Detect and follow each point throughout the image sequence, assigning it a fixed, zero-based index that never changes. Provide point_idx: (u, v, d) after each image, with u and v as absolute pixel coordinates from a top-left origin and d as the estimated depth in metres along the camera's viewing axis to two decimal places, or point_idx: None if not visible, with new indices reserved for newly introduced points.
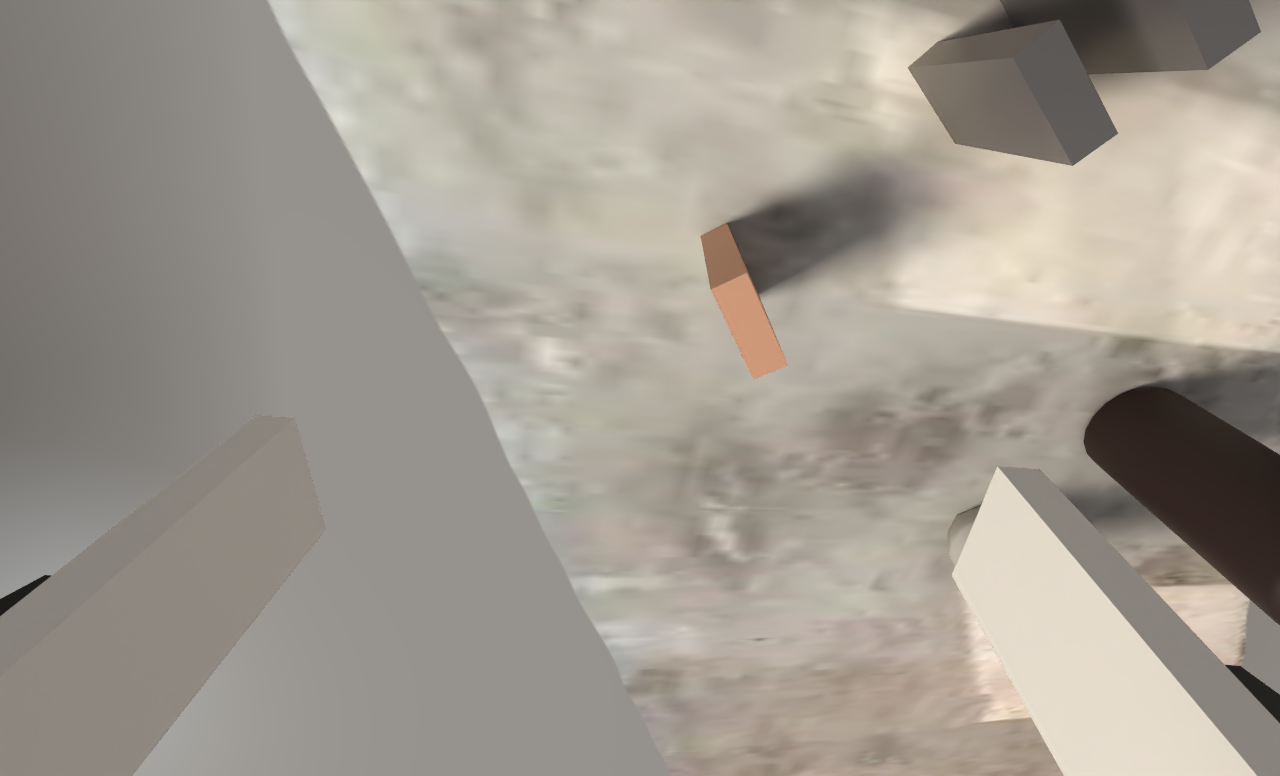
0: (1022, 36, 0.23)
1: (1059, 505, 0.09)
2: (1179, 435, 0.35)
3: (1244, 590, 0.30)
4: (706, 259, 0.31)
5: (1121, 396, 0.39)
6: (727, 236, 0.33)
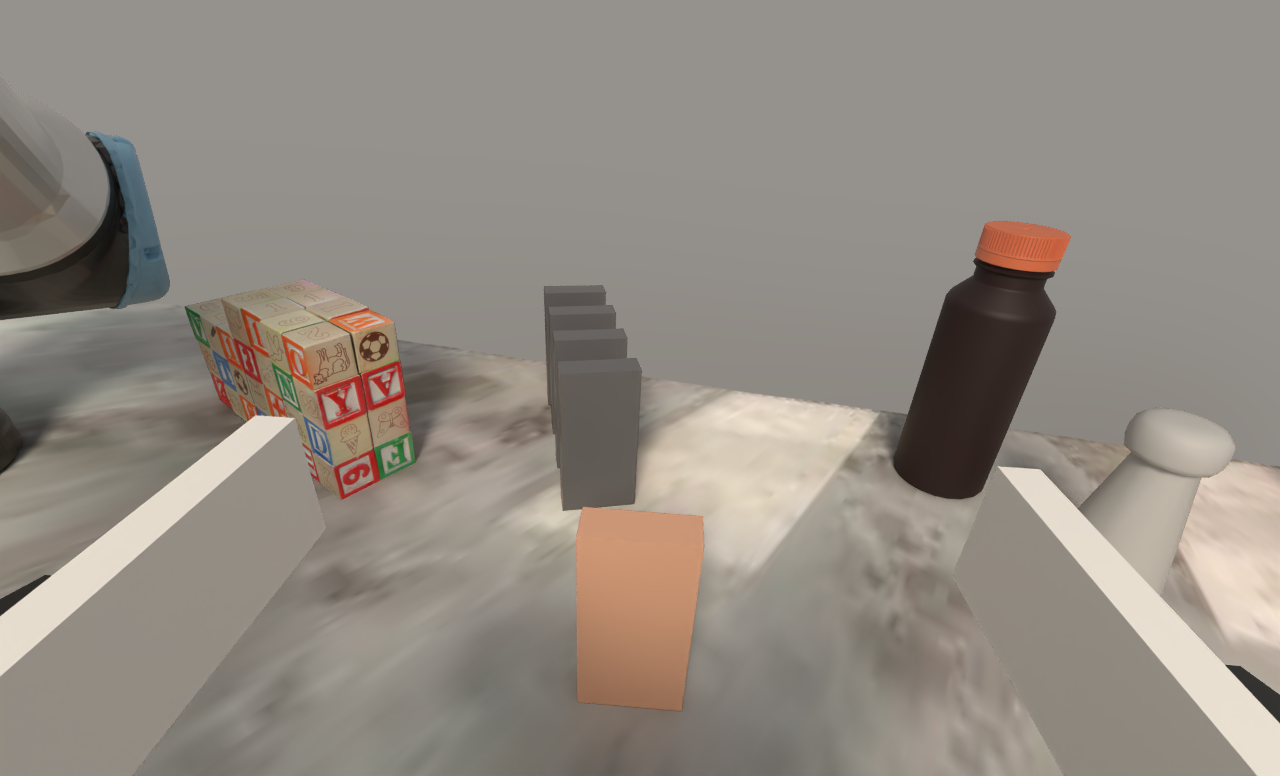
0: (559, 385, 0.37)
1: (1059, 505, 0.09)
2: (916, 418, 0.44)
3: (1023, 341, 0.38)
4: (577, 621, 0.26)
5: (899, 471, 0.46)
6: None
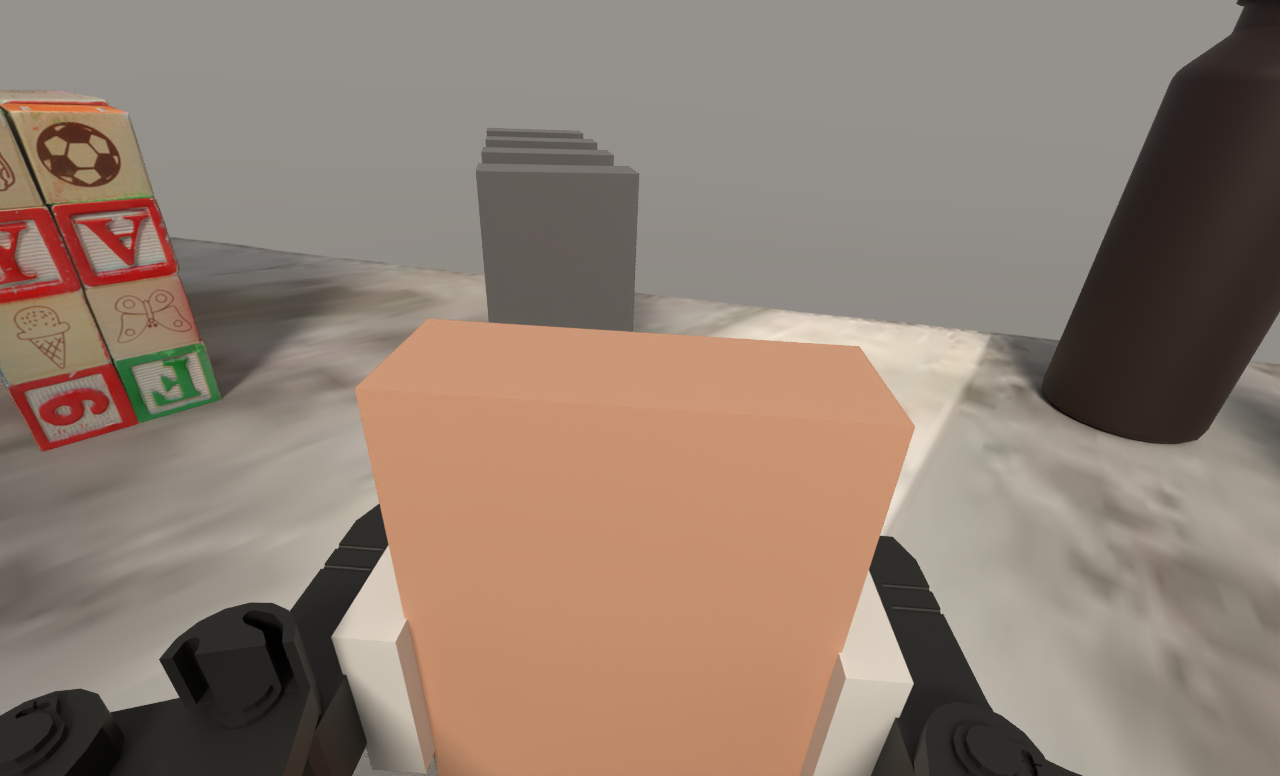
0: None
1: None
2: (1102, 307, 0.26)
3: None
4: (429, 718, 0.08)
5: (1059, 404, 0.28)
6: None
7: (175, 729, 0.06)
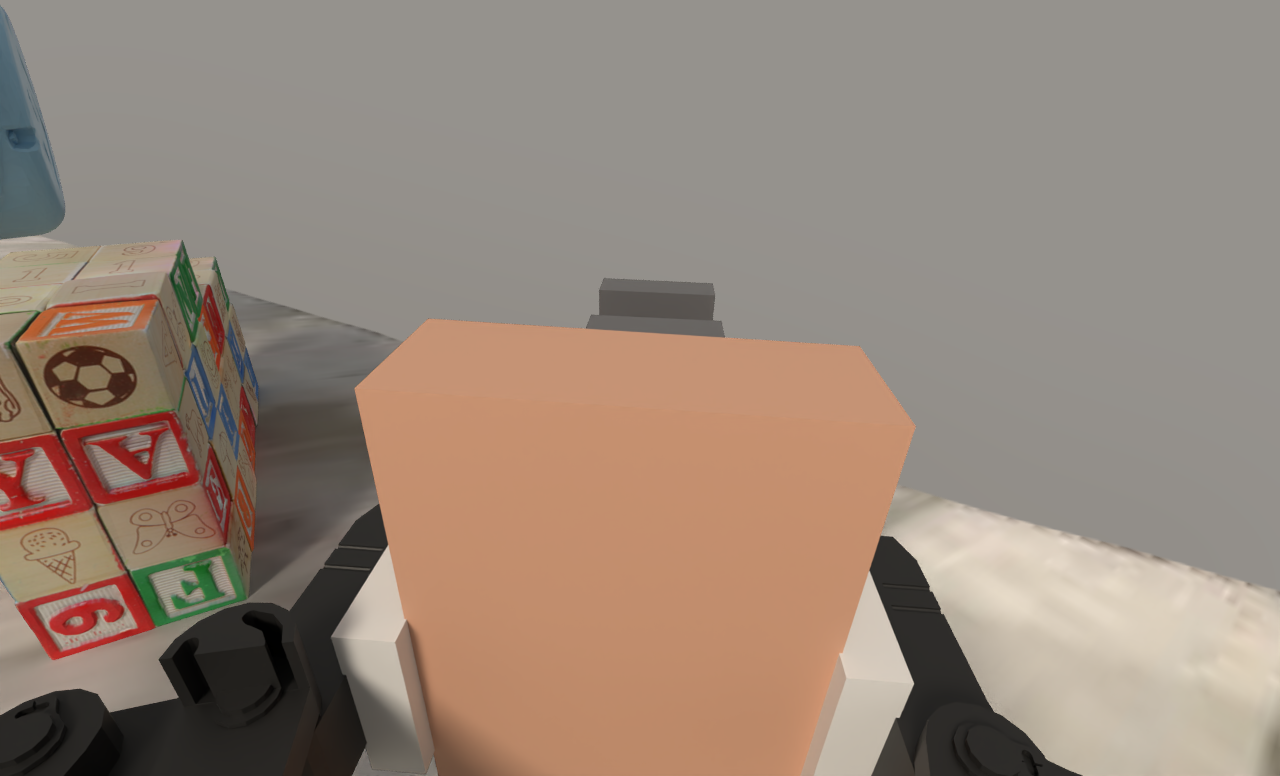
0: None
1: None
2: None
3: None
4: (429, 718, 0.08)
5: None
6: None
7: (174, 729, 0.06)
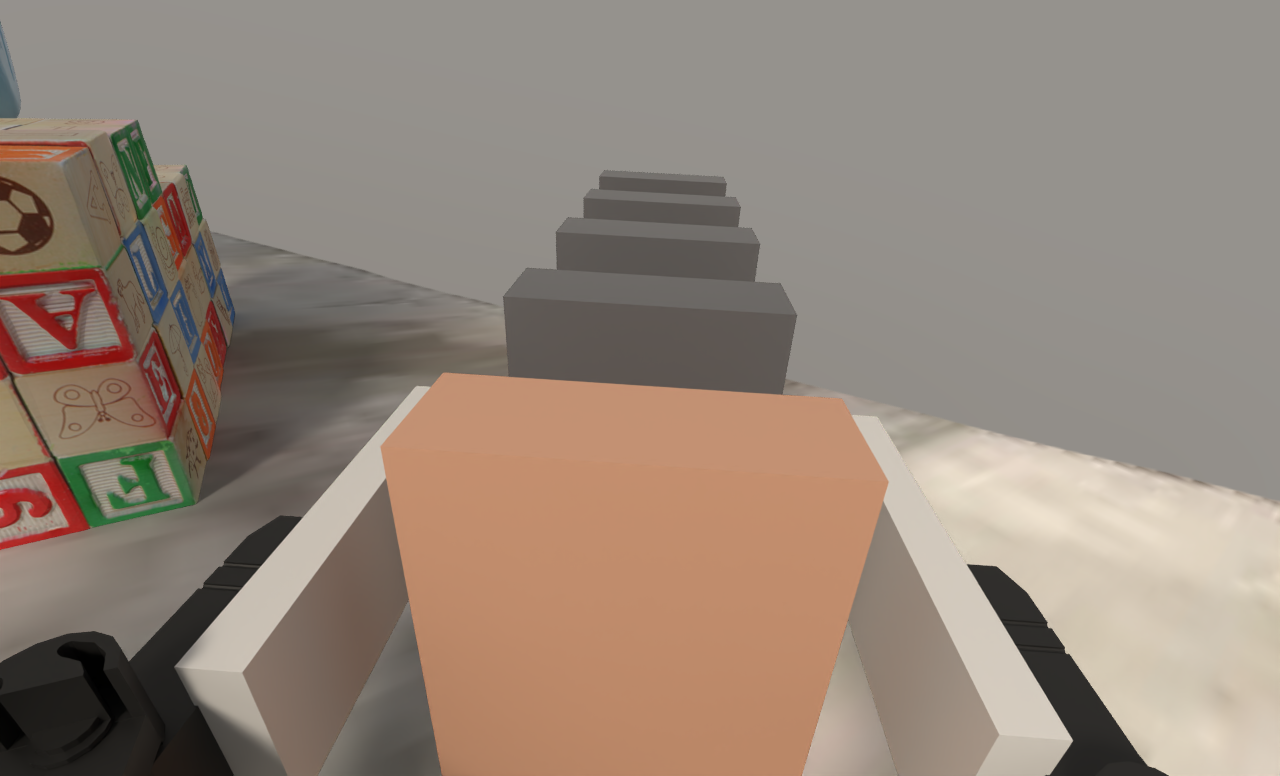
0: None
1: (880, 443, 0.11)
2: None
3: None
4: (439, 746, 0.08)
5: None
6: None
7: None
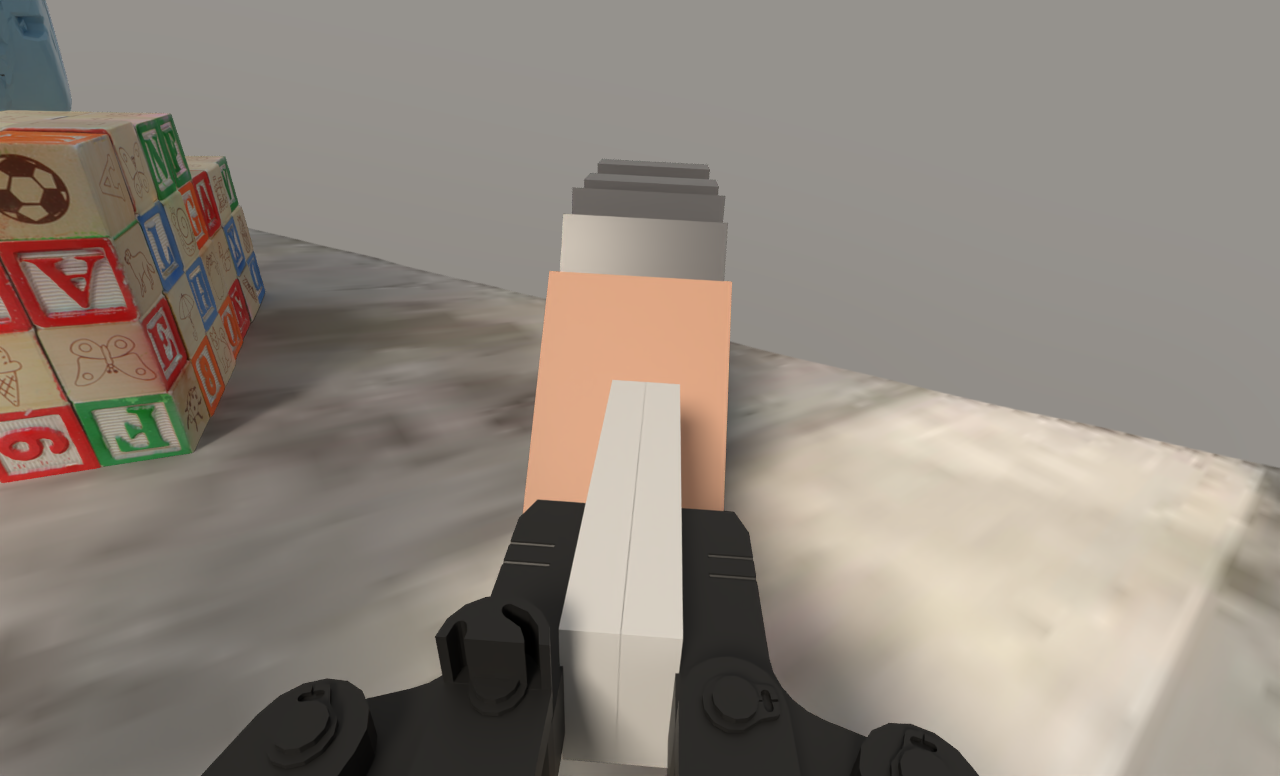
0: None
1: (667, 406, 0.12)
2: None
3: None
4: (529, 453, 0.15)
5: None
6: None
7: (438, 703, 0.06)
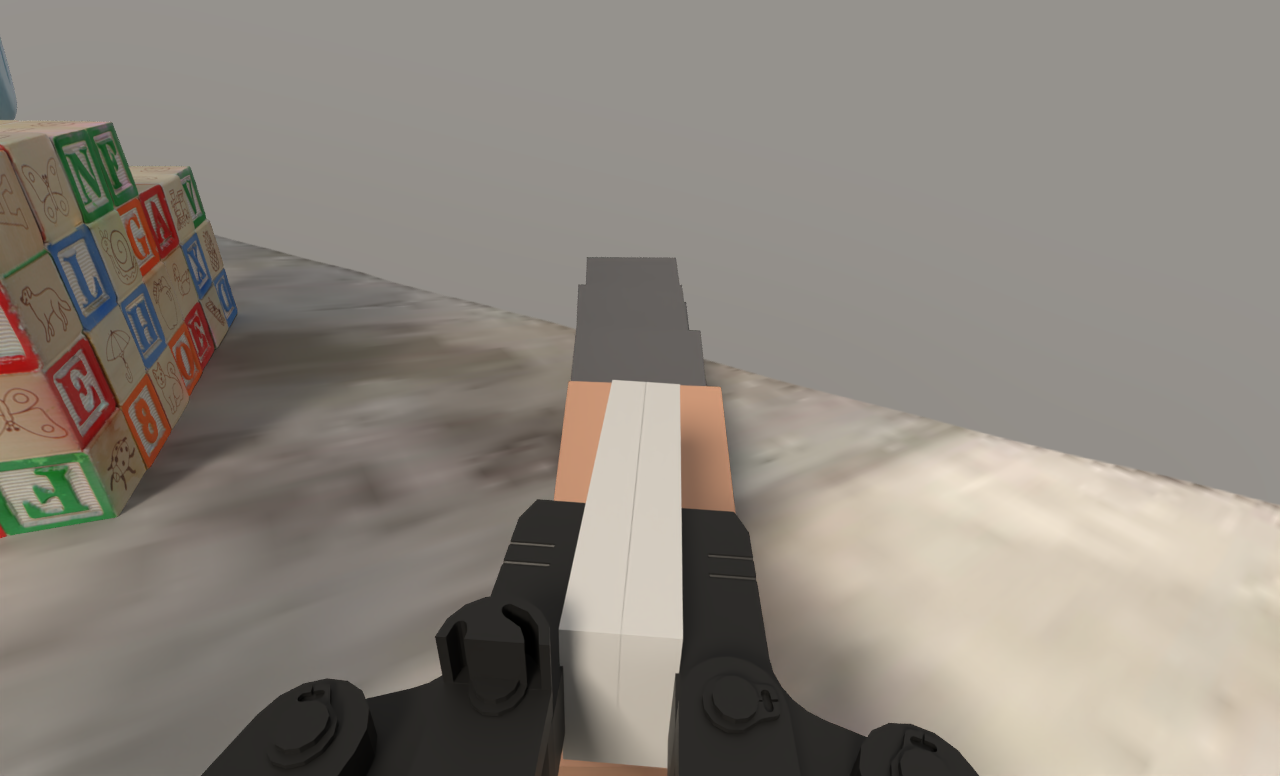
0: None
1: (667, 406, 0.12)
2: None
3: None
4: None
5: None
6: None
7: (437, 704, 0.06)
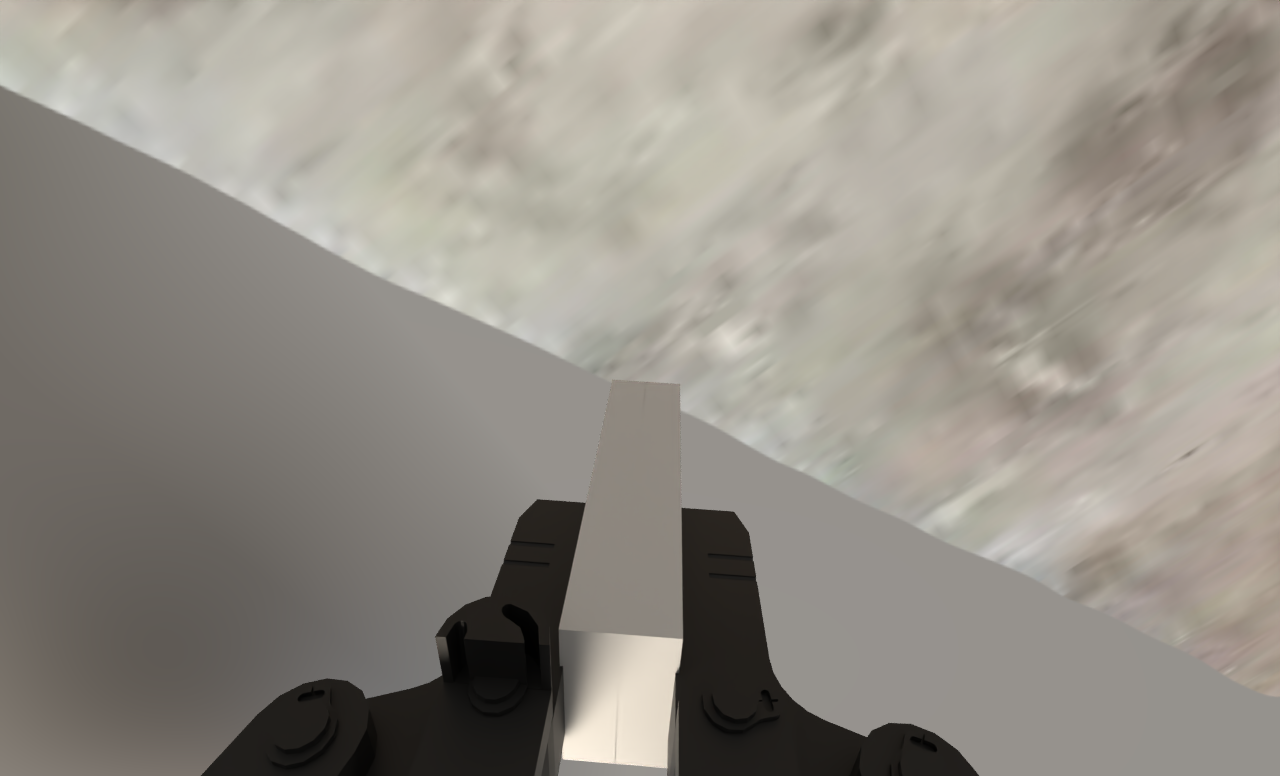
0: None
1: (667, 406, 0.12)
2: None
3: None
4: None
5: None
6: None
7: (438, 704, 0.06)
